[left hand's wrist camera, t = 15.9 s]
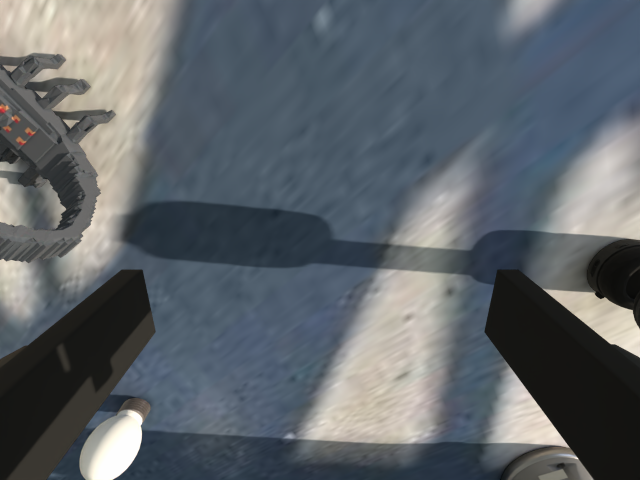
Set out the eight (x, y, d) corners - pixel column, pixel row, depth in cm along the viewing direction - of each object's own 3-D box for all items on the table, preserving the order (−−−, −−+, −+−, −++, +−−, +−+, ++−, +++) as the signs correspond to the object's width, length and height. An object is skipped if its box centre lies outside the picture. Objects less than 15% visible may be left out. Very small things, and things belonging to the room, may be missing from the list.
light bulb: (151, 388, 51) (108, 458, 41) (164, 420, 53) (127, 494, 43) (108, 392, 51) (55, 463, 41) (123, 424, 54) (77, 499, 44)
